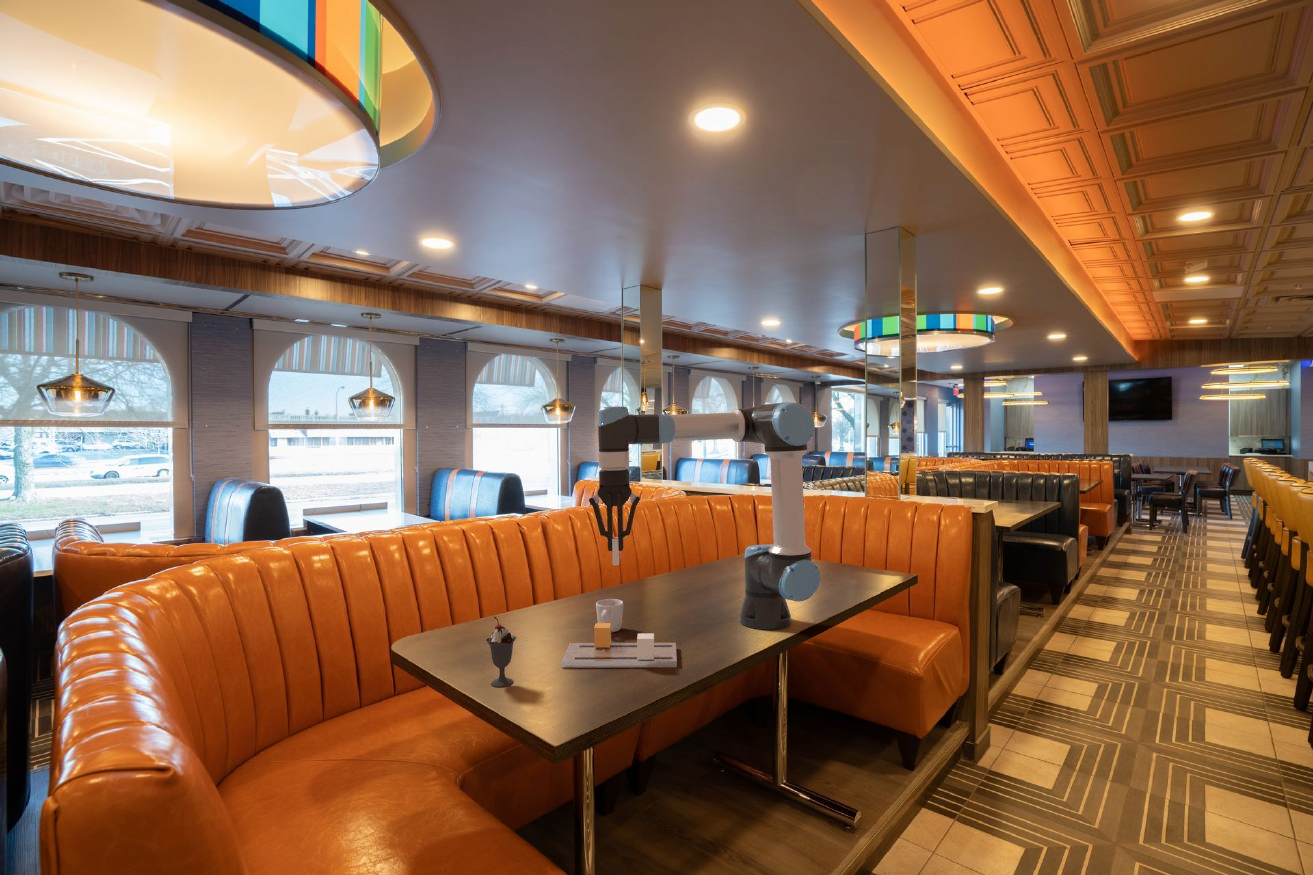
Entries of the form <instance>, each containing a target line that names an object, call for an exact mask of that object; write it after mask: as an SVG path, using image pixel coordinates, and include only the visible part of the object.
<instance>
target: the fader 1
mask: <svg viewBox="0 0 1313 875" xmlns="http://www.w3.org/2000/svg"><path fill="white" fill-rule="evenodd" d="M593 643H594V647H610V645H611V643H612V632H611V623H598V622H597V623H595V625H594V628H593Z"/></svg>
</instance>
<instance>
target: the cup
mask: <svg viewBox="0 0 1313 875" xmlns="http://www.w3.org/2000/svg"><path fill="white" fill-rule="evenodd" d="M595 610H596V618H597V623H611V633H615V632H618V631H619V630H621V629H622V624H623V615H624V601H623V600H621V599H617V598H606V599H605V598H604V599H599V600H598V601H596V603H595Z"/></svg>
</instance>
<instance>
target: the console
mask: <svg viewBox="0 0 1313 875" xmlns="http://www.w3.org/2000/svg"><path fill="white" fill-rule="evenodd" d="M677 663H678V660H677V643H676V642H654V659H650V660H637V642H611V645H610V647H594V642H569V643H568V646H567V648H566V650H565V652H564V655H563V657H562V659H561V661H560V664H561V665H560V668H561V669H562V668H563V669H564V668H565V669H566V668H567V669H569V668H571V669H572V668H578V669H579V668H581V669H582V668H584V669H585V668H586V669H589V668H591V669H592V668H597V669H598V668H601V669H602V668H604V669H605V668H608V669H609V668H678V664H677Z"/></svg>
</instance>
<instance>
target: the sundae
mask: <svg viewBox="0 0 1313 875" xmlns="http://www.w3.org/2000/svg"><path fill="white" fill-rule="evenodd" d="M493 619H495V620H496V621H497V625H495V627H494V631H492V633H491V636H490V637H487V638H486V639H485V640H486V643H487V644H488V645H489V647H490V653H491V661H492V664H493V665H494V666H495V667H496V668H498V670H499V674H498V675H499V676H498V678H497V679H494V680H492V681H491V683H490V685H491V686H492V687H493V688H506V687H508V686H511V685H512V684H514V680H513V679H512V678H510V677H506V673H505V669H506V668H507V666H509V664H510V663H511V661H512V657H513V650H514V649H513V648H514V642H515V641H516V639H517V636H515V635H512V633H511V632H509V629H508V628H507V627H506V626H503V625H502V624H500V623H499V619H498V618H497V616H495V615H494V616H493Z"/></svg>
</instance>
